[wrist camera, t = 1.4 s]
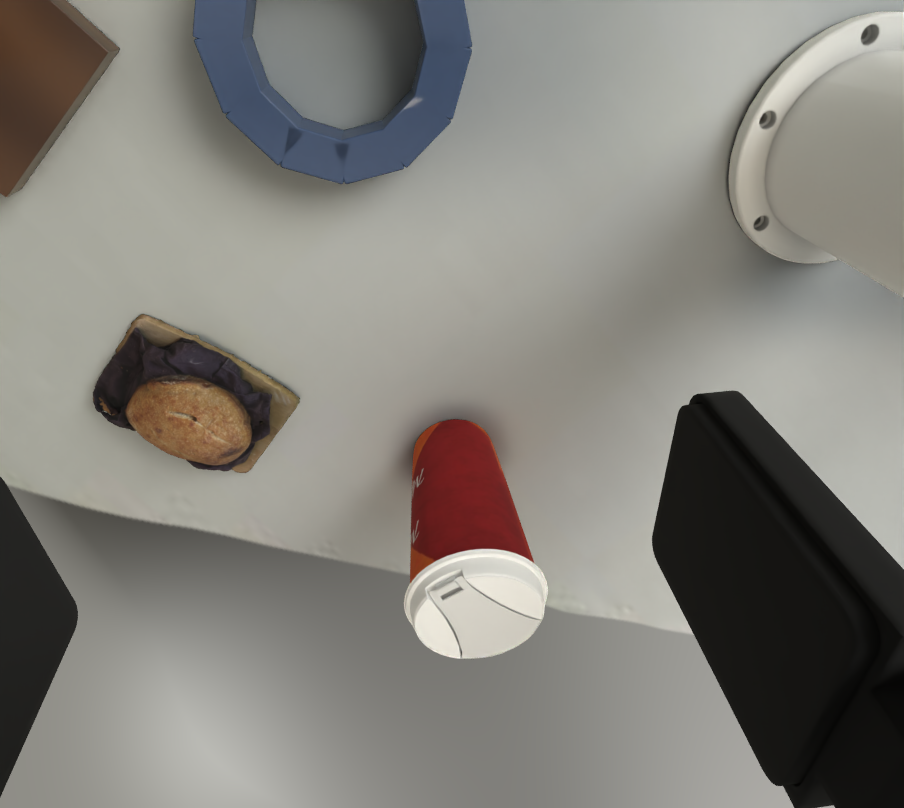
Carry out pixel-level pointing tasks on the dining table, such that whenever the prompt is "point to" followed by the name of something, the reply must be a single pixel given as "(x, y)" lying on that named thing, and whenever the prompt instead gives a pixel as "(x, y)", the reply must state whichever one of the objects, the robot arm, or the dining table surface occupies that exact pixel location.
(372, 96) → the dining table surface
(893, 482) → the dining table surface
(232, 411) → the bun on tray
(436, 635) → the paper cup
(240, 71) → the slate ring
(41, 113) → the stand
